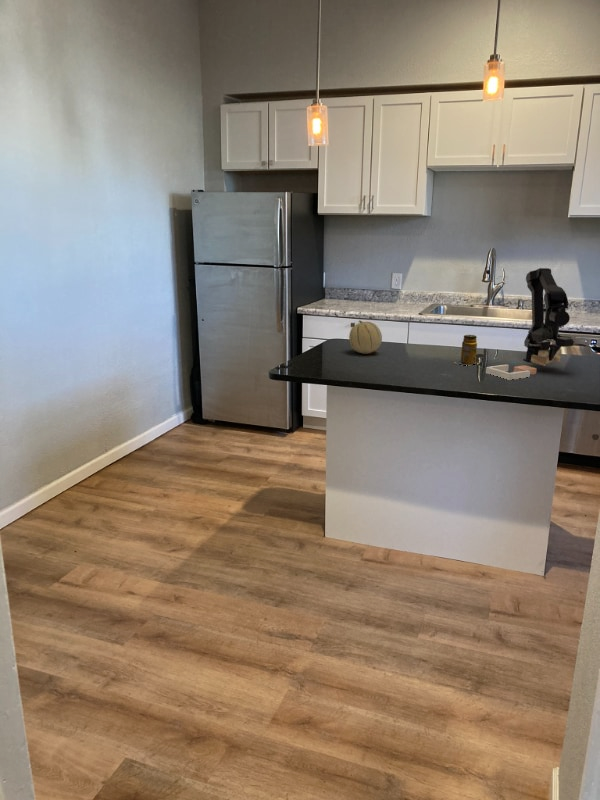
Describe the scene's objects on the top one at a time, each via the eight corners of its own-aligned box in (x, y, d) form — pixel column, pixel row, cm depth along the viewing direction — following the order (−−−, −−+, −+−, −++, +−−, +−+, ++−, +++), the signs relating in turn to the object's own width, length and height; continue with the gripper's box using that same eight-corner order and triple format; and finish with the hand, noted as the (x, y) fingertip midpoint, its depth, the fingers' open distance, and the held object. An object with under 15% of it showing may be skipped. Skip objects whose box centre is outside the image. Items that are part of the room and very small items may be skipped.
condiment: (479, 364, 258) (482, 336, 255) (465, 366, 254) (468, 338, 250) (466, 360, 264) (468, 333, 261) (452, 363, 260) (454, 335, 256)
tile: (524, 371, 247) (525, 365, 247) (535, 374, 242) (536, 368, 241) (513, 372, 245) (514, 366, 244) (524, 376, 240) (525, 370, 239)
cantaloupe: (382, 357, 270) (384, 323, 266) (349, 356, 271) (350, 323, 266) (379, 350, 285) (380, 318, 280) (347, 350, 285) (348, 318, 281)
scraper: (550, 359, 253) (551, 347, 252) (564, 362, 247) (565, 350, 246) (530, 362, 249) (532, 350, 247) (544, 365, 243) (545, 353, 241)
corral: (506, 370, 247) (506, 364, 246) (529, 377, 236) (530, 371, 236) (485, 373, 242) (486, 367, 242) (508, 380, 232) (509, 373, 231)
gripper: (519, 319, 248) (515, 357, 252) (556, 326, 232) (551, 366, 236) (539, 317, 252) (535, 354, 257) (577, 324, 236) (571, 363, 241)
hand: (547, 359), depth 248 cm, fingers closed on scraper, 2 cm apart
